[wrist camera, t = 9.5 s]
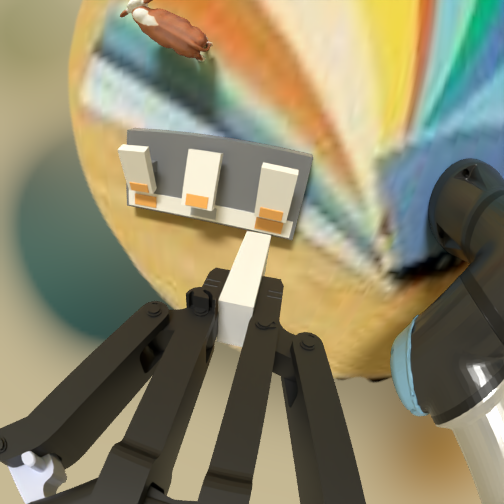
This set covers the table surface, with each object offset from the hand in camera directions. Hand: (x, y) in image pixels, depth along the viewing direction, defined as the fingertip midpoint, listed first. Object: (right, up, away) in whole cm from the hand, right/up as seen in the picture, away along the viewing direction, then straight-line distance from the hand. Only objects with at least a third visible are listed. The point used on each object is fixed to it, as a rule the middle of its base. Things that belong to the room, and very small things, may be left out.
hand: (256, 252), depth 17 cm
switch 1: (-15, +11, +15) cm, 24 cm away
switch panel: (-6, +10, +19) cm, 22 cm away
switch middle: (-6, +9, +15) cm, 18 cm away
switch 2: (+2, +7, +14) cm, 16 cm away
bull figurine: (-9, +28, +9) cm, 31 cm away
